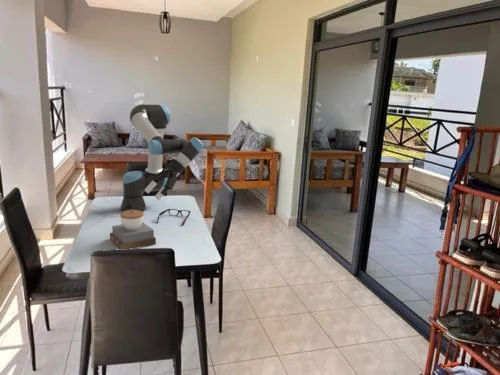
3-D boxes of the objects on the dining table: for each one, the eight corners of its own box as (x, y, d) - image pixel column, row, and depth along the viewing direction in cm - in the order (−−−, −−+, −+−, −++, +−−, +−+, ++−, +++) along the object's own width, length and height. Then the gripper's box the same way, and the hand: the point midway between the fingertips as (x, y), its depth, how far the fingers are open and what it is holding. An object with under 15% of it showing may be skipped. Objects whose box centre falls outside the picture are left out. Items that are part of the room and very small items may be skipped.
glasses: (192, 218, 235) (193, 210, 234) (183, 227, 218) (183, 218, 217) (166, 216, 237) (166, 208, 236) (155, 224, 220) (155, 215, 219)
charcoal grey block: (112, 233, 193) (112, 226, 192) (141, 228, 202) (141, 221, 201) (123, 243, 181) (123, 235, 180) (153, 237, 190) (153, 230, 189)
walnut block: (110, 240, 195) (109, 232, 194) (143, 234, 204) (143, 227, 203) (121, 252, 181) (120, 244, 180) (155, 245, 191) (155, 238, 190)
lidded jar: (120, 232, 184) (119, 213, 182) (121, 225, 194) (120, 207, 192) (143, 231, 187) (143, 213, 184) (143, 224, 197) (143, 206, 194)
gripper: (195, 173, 190) (166, 206, 185) (174, 163, 209) (147, 193, 204) (185, 163, 185) (155, 196, 180) (164, 154, 205) (137, 184, 200)
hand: (151, 195), depth 192 cm, fingers open, 13 cm apart
